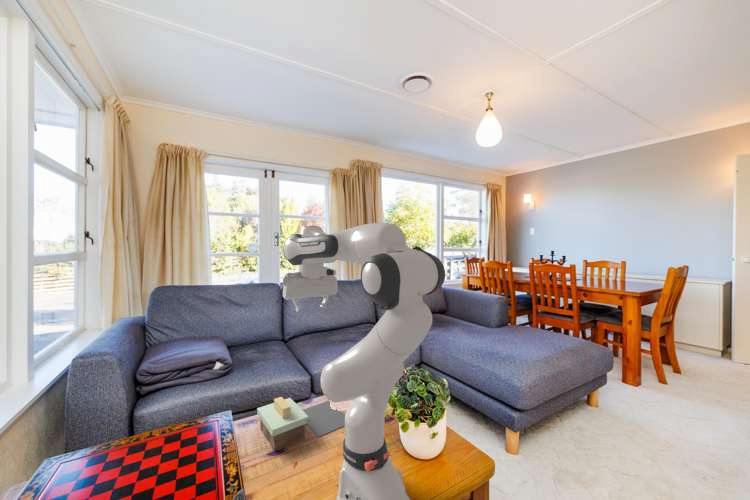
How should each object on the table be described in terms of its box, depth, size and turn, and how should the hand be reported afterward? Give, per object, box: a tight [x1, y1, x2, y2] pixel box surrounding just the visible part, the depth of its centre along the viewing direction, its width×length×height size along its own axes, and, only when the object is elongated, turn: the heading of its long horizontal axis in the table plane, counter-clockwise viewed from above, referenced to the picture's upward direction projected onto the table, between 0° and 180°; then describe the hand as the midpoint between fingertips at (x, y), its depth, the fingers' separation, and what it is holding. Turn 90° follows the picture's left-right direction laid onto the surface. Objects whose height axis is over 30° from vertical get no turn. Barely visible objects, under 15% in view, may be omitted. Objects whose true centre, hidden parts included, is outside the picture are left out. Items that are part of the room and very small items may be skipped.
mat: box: [302, 400, 346, 438], centre depth 120 cm, size 20×15×1 cm
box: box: [259, 418, 306, 452], centre depth 109 cm, size 15×11×7 cm
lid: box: [256, 396, 308, 437], centre depth 109 cm, size 17×13×6 cm
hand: (311, 309), depth 108 cm, fingers open, 8 cm apart
